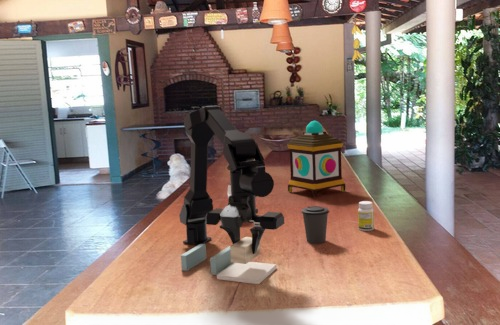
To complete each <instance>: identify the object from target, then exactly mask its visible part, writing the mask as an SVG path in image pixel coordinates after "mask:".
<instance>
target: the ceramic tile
mask: <svg viewBox="0 0 500 325" xmlns="http://www.w3.org/2000/svg"><path fill="white" fill-rule="evenodd" d="M277 269H278V268H277V264H276V263H275V264H274V263H266V262H265V263H264V262H256V261H249V262H248V263H247V264H241V263H232V264H231V265H229V266H228V267H226V268H225V269H224V270H222V271H221V272H220V273H218V274H217V275H216V279H217V280H222V281H223V280H224V281H231V282H240V283H244V284H245V283H246V284H247V283H248V284H254V285H259V284H261V283H262V282H263V281H265V279H266V278H267V277H268V276H270V275H271V274H272V273H273V272H274V271H276V270H277Z"/></svg>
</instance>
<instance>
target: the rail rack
mask: <svg viewBox="0 0 500 325" xmlns="http://www.w3.org/2000/svg"><path fill="white" fill-rule="evenodd" d="M206 245H207V244H206V243H204V244H199V245H196V246H194V247H193V248H191V249H189V250H188V251H186V252H184V253H182V254H181V255H180V260H181V261H180V264H181V271H184V272H188V271H190V270H191V269H192V268H194V267H195V266H197V265H199V264H200V263H202V262H203V261H205V260H206V259H207V246H206ZM209 262H210V273H211V275H216V276H217V274H219V273H220V272H222V271H223V270H224V269H226V268H227V267H228V266H230V265H231V264H233V262H231V254H230V246H226V247H225V248H224V249H223V250H221V251H219V252H218V253H216V254H214V255H213V256H211V257H210V259H209Z"/></svg>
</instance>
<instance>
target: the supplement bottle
mask: <svg viewBox="0 0 500 325" xmlns="http://www.w3.org/2000/svg"><path fill="white" fill-rule="evenodd" d="M358 207H359V208H358V209H357V214H358V216H357V223H358V229H359V231H363V232H370V231H373V230H374V229H375V210H374V208H373V202H372V201H368V200H362V201H359V202H358Z"/></svg>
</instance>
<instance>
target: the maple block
mask: <svg viewBox="0 0 500 325" xmlns="http://www.w3.org/2000/svg"><path fill="white" fill-rule="evenodd" d="M229 247H230V254H231V262H233V263H241V264H247V263H248V262H252V260H253V259H255V258H256V257H258V256H259V255H261V242H260V243H259V245H258V248H257V251H256V253H255V254H253V252H252V236H251V237H250V236H245V237H243V238H240V240H239V241H238V242H236V243H234V244H233V243H232V244H231V245H230V246H229ZM233 263H232V264H233Z"/></svg>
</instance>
